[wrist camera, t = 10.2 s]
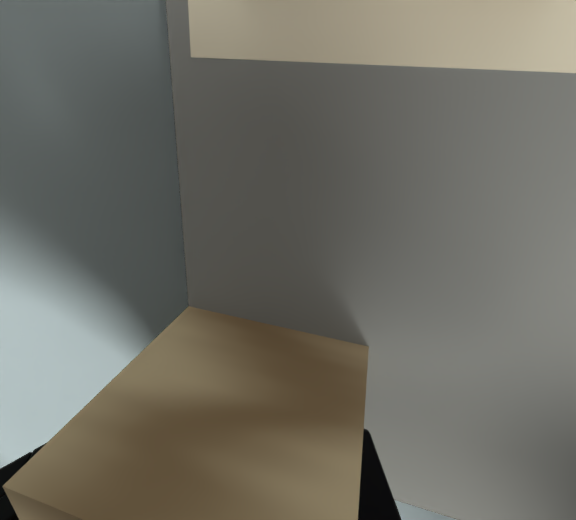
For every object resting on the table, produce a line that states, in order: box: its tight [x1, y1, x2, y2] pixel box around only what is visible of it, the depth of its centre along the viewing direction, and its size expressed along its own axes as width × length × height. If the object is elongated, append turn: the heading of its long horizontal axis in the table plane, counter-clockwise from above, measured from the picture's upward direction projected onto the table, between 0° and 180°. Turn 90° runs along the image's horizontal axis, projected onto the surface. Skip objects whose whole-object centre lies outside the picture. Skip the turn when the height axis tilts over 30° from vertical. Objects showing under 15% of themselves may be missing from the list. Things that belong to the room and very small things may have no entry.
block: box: [2, 306, 369, 520], centre depth 7 cm, size 5×5×5 cm
